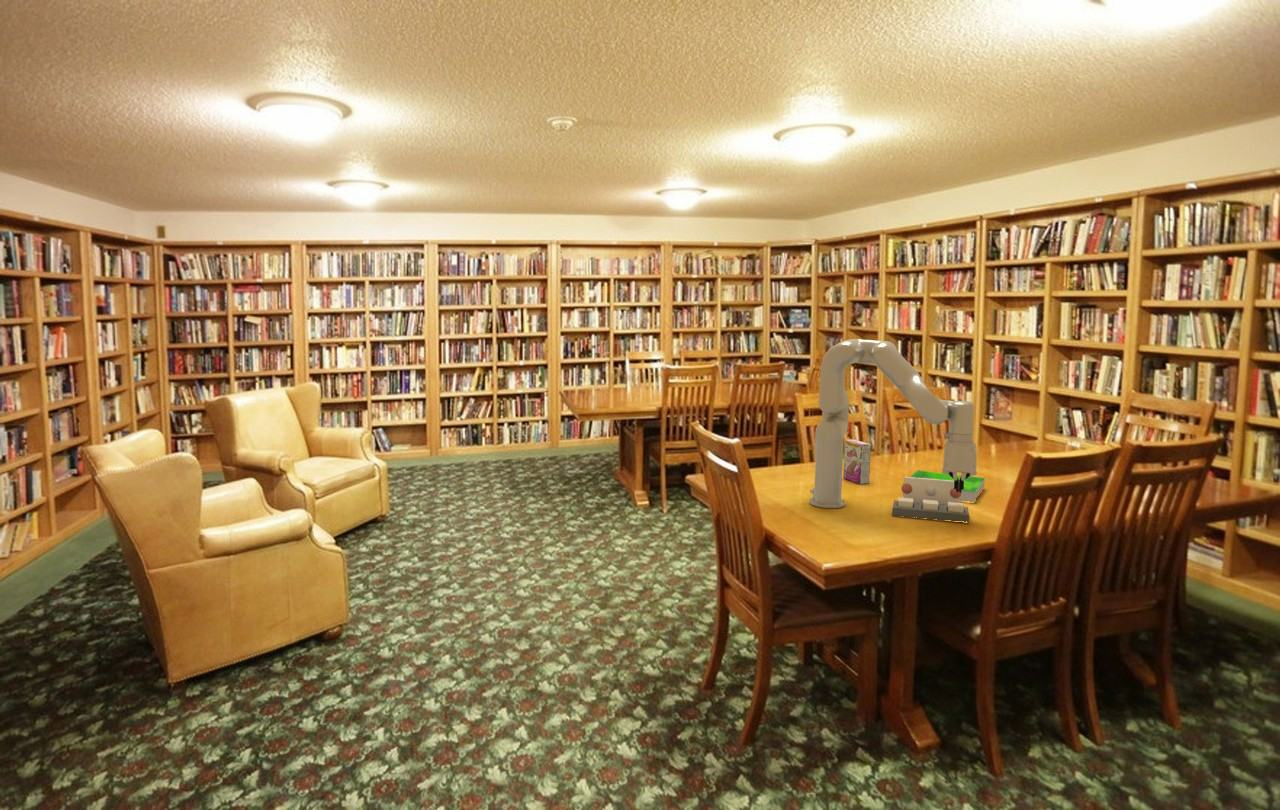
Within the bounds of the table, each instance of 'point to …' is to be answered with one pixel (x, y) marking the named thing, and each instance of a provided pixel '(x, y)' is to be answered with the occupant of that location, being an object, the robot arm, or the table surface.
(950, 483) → the button panel
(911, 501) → the button
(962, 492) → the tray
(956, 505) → the button
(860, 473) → the candy bar box
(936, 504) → the middle button
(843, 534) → the table surface
